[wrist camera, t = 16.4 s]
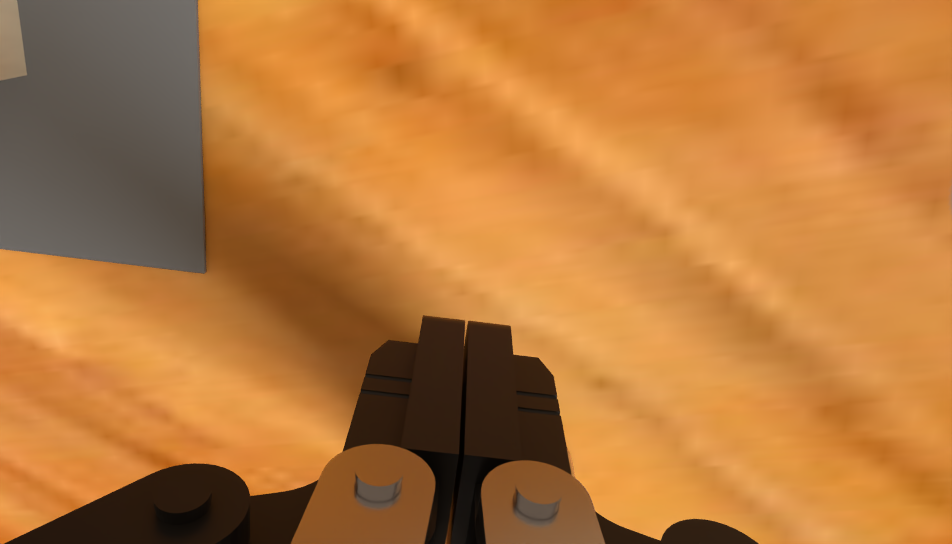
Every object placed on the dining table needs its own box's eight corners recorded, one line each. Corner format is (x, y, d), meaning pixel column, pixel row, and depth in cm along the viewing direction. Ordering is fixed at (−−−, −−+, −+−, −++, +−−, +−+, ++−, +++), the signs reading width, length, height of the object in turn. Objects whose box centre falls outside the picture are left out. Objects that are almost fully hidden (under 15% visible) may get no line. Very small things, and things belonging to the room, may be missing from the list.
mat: (206, 271, 43) (204, 273, 42) (-102, 234, 42) (-106, 236, 41) (193, -123, 34) (191, -124, 34) (-196, -181, 33) (-202, -182, 33)
